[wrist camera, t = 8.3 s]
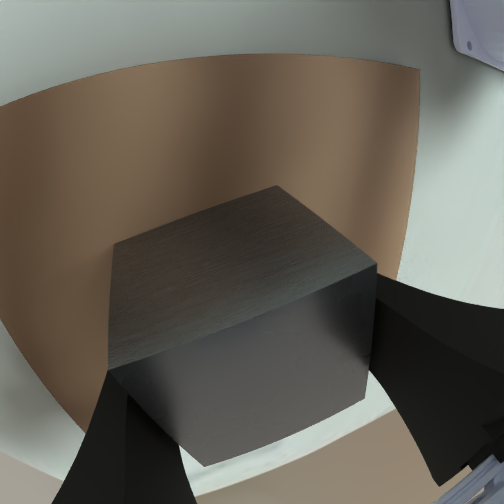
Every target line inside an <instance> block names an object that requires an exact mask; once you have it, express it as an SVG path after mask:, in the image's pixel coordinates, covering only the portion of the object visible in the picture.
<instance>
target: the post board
mask: <svg viewBox="0 0 504 504" xmlns="http://www.w3.org/2000/svg"><path fill="white" fill-rule="evenodd" d="M419 106H420V69H416V68H411V67H406V66H401V65H396V64H390V63H384V62H377V61H370V60H362V59H354V58H345V57H334V56H321V55H304V54H238V55H221V56H208V57H197V58H188V59H179V60H172V61H164V62H158V63H152V64H146V65H140V66H135V67H129V68H125V69H120V70H115V71H111V72H106V73H102V74H98V75H94V76H90V77H86V78H82V79H79V80H75V81H72V82H68V83H65V84H62V85H58V86H55V87H52V88H49V89H46V90H43V91H40V92H37V93H34V94H32V95H29V96H26V97H24V98H21V99H18V100H16V101H13V102H11V103H8V104H6V105H3V106H1V107H0V319H1V321H2V322H3V324H4V326H5V327H6V329H7V331H8V332H9V334H10V336H11V337H12V339H13V340H14V342H15V344H16V345H17V347H18V348H19V350H20V351H21V353H22V354H23V356H24V357H25V359H26V360H27V362H28V363H29V364H30V366H31V367H32V369H33V370H34V371H35V373H36V374H37V376H38V377H39V378H40V380H41V381H42V382H43V384H44V385H45V386H46V388H47V389H48V390H49V391H50V393H51V394H52V395H53V396H54V398H55V399H56V400H57V401H58V403H59V404H60V405H61V406H62V407H63V409H64V410H65V411H66V412H67V413H68V414H69V416H70V417H71V418H72V419H73V420H74V421H75V422H76V423H77V425H78V426H79V427H80V428H81V429H82V430H83V431H84V432H85V433H86V432H87V429H88V427H89V424H90V421H91V418H92V415H93V412H94V410H95V407H96V404H97V401H98V398H99V395H100V392H101V389H102V386H103V383H104V380H105V376H106V373H107V370H108V322H109V299H110V283H111V270H112V259H113V249H114V244H115V243H118V242H120V241H123V240H125V239H128V238H130V237H133V236H135V235H138V234H140V233H143V232H146V231H148V230H151V229H153V228H156V227H159V226H161V225H164V224H167V223H169V222H172V221H175V220H177V219H180V218H183V217H186V216H188V215H191V214H194V213H197V212H199V211H202V210H205V209H208V208H211V207H213V206H216V205H219V204H222V203H225V202H228V201H231V200H234V199H236V198H239V197H242V196H245V195H248V194H251V193H254V192H257V191H260V190H263V189H266V188H269V187H273V186H276V185H278V186H279V187H281V188H282V189H283V190H285V191H286V192H287V193H289V194H290V195H291V196H293V197H294V198H295V199H297V200H298V201H299V202H301V203H302V204H303V205H305V206H306V207H307V208H309V209H310V210H311V211H313V212H314V213H315V214H317V215H318V216H319V217H320V218H322V219H323V220H324V221H326V222H327V223H328V224H330V225H331V226H332V227H333V228H335V229H336V230H337V231H338V232H340V233H341V234H342V235H343V236H345V237H346V238H347V239H348V240H350V241H351V242H352V243H353V244H355V245H356V246H357V247H358V248H360V249H361V250H362V251H363V252H364V253H366V254H367V255H368V256H369V257H371V258H372V259H373V260H374V261H375V262H377V273H379V274H381V275H383V276H386V277H388V278H391V279H393V280H396V278H397V274H398V269H399V265H400V260H401V255H402V250H403V245H404V240H405V234H406V228H407V223H408V217H409V210H410V204H411V197H412V189H413V181H414V173H415V164H416V153H417V141H418V127H419Z"/></svg>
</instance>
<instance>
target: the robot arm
mask: <svg viewBox="0 0 504 504" xmlns="http://www.w3.org/2000/svg"><path fill="white" fill-rule="evenodd" d="M450 6H451V16H452V28H453V42H454V46H455V48H456V50H457V51H458V52H460V53H463V54H465V55H468V56H470V57H473V58H475V59H477V60H480V61H482V62H484V63H487V64H489V65H491V66H493V67H495V68H498V69H500V70H502V71H504V0H450ZM369 371H370V372H371V373H372V374H373V375H374V377H375V378H376V379H377V380H378V382H379V383H380V384H381V386H382V387H383V388H384V390H385V391H386V393H387V395H388V396H389V398H390V399H391V401H392V402H393V404H394V406H395V407H396V409H397V410H398V412H399V414H400V415H401V417H402V419H403V420H404V422H405V424H406V426H407V427H408V429H409V431H410V433H411V435H412V436H413V438H414V440H415V442H416V444H417V446H418V447H419V449H420V452H421V454H422V455H423V458H424V460H425V462H426V464H427V466H428V468H429V471H430V473H431V475H432V478H433V479H434V481H435V482H436V483H437V485H438V486H441V485H443V484H444V483H445V482H447V481H448V480H450V479H451V478H452V477H454V476H455V475H456V474H457V473H459V472H460V471H461V470H462V469H464V468H465V467H466V466H467V465H469V467H470V468H471V469H472V470H473V471H472V472H470V473H469V474H468V475H467V476H466V477H465V478H463V479H462V480H461V481H460V482H459V483H458V484H456V485H455V486H454V487H453V488H451V489H450V490H449V491H448V492H446V493H445V494H444V495H442V496H441V497H440V498H439V499H437V500H436V501H434V502H433V503H432V504H465V503H466V502H467V501H468V500H469V499H471V498H472V497H473V496H474V495H475V494H476V493H477V492H479V491H480V490H481V489H482V488H483V487H484V492H482V493H481V494H479V495H478V496H476V497H475V498H473V499H471V500H470V501H469V502H467V503H466V504H504V309H499V308H492V307H486V306H480V305H475V304H470V303H465V302H461V301H456V300H453V299H449V298H446V297H442V296H438V295H435V294H432V293H429V292H425V291H423V290H420V289H417V288H414V287H411V286H409V285H406V284H403V283H401V282H398V281H396V280H393V279H391V278H388V277H386V276H383V275H381V274H379V273H377V284H376V301H375V314H374V326H373V337H372V347H371V355H370V364H369ZM52 504H197V502H196V500H195V497H194V495H193V492H192V490H191V487H190V484H189V481H188V479H187V476H186V473H185V469H184V466H183V462H182V458H181V453H180V449H179V444H178V443H177V442H176V441H175V440H174V439H172V438H171V437H170V436H169V435H168V434H167V433H166V432H165V431H164V430H163V429H162V428H161V427H160V426H159V425H158V424H157V423H156V422H155V421H154V420H153V419H152V418H151V417H150V416H149V415H148V414H147V413H146V412H145V411H144V410H143V409H142V408H141V407H140V405H139V404H138V403H137V402H136V401H135V400H134V399H133V398H132V397H131V396H130V395H129V394H128V392H127V391H126V390H125V389H124V388H123V387H122V386H121V384H120V383H119V382H118V381H117V380H116V379H115V378H114V376H113V375H112V374H111V373H110V372H109V370H107V373H106V376H105V380H104V383H103V386H102V389H101V392H100V395H99V398H98V401H97V404H96V407H95V410H94V412H93V415H92V418H91V421H90V424H89V427H88V429H87V432H86V434H85V437H84V440H83V442H82V444H81V447H80V449H79V451H78V454H77V456H76V458H75V460H74V462H73V464H72V466H71V468H70V470H69V472H68V474H67V476H66V478H65V480H64V482H63V484H62V486H61V488H60V490H59V492H58V493H57V495H56V497H55V498H54V500H53V502H52Z"/></svg>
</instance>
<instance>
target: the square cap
mask: <svg viewBox="0 0 504 504" xmlns="http://www.w3.org/2000/svg"><path fill="white" fill-rule="evenodd" d="M376 284H377V262H375V261H374V260H373V259H372V258H371V257H369V256H368V255H367V254H366V253H364V252H363V251H362V250H361V249H360V248H358V247H357V246H356V245H355V244H353V243H352V242H351V241H350V240H348V239H347V238H346V237H345V236H343V235H342V234H341V233H340V232H338V231H337V230H336V229H335V228H333V227H332V226H331V225H330V224H328V223H327V222H326V221H324V220H323V219H322V218H320V217H319V216H318V215H317V214H315V213H314V212H313V211H311V210H310V209H309V208H307V207H306V206H305V205H303V204H302V203H301V202H299V201H298V200H297V199H295V198H294V197H293V196H291V195H290V194H289V193H287V192H286V191H285V190H283V189H282V188H281V187H279V186H278V185H276V186H273V187H269V188H266V189H263V190H260V191H257V192H254V193H251V194H248V195H245V196H242V197H239V198H236V199H234V200H231V201H228V202H225V203H222V204H219V205H216V206H213V207H211V208H208V209H205V210H202V211H199V212H197V213H194V214H191V215H188V216H186V217H183V218H180V219H177V220H175V221H172V222H169V223H167V224H164V225H161V226H159V227H156V228H153V229H151V230H148V231H146V232H143V233H140V234H138V235H135V236H133V237H130V238H128V239H125V240H123V241H120V242H118V243H115V244H114V249H113V259H112V270H111V283H110V299H109V322H108V370H109V372H110V373H111V374H112V375H113V376H114V378H115V379H116V380H117V381H118V382H119V383H120V384H121V386H122V387H123V388H124V389H125V390H126V391H127V392H128V394H129V395H130V396H131V397H132V398H133V399H134V400H135V401H136V402H137V403H138V404H139V405H140V407H141V408H142V409H143V410H144V411H145V412H146V413H147V414H148V415H149V416H150V417H151V418H152V419H153V420H154V421H155V422H156V423H157V424H158V425H159V426H160V427H161V428H162V429H163V430H164V431H165V432H166V433H167V434H168V435H169V436H170V437H171V438H172V439H174V440H175V441H176V442H177V443H178V444H179V445H180V446H181V447H182V448H183V449H184V450H186V451H187V452H188V453H189V454H190V455H191V456H192V457H193V458H195V459H196V460H197V461H198V462H199V463H200V464H202V465H203V466H204V467H206V466H209V465H212V464H215V463H218V462H222V461H225V460H228V459H231V458H233V457H236V456H239V455H242V454H245V453H248V452H250V451H253V450H256V449H258V448H261V447H263V446H266V445H268V444H271V443H273V442H276V441H278V440H281V439H283V438H285V437H288V436H290V435H292V434H295V433H297V432H299V431H301V430H303V429H306V428H308V427H310V426H312V425H314V424H316V423H318V422H320V421H323V420H325V419H327V418H329V417H331V416H333V415H335V414H336V413H338V412H340V411H342V410H344V409H346V408H348V407H350V406H352V405H353V404H355V403H357V402H359V401H361V400H363V399H364V398H365V392H366V386H367V379H368V371H369V364H370V355H371V347H372V337H373V326H374V314H375V301H376Z"/></svg>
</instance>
